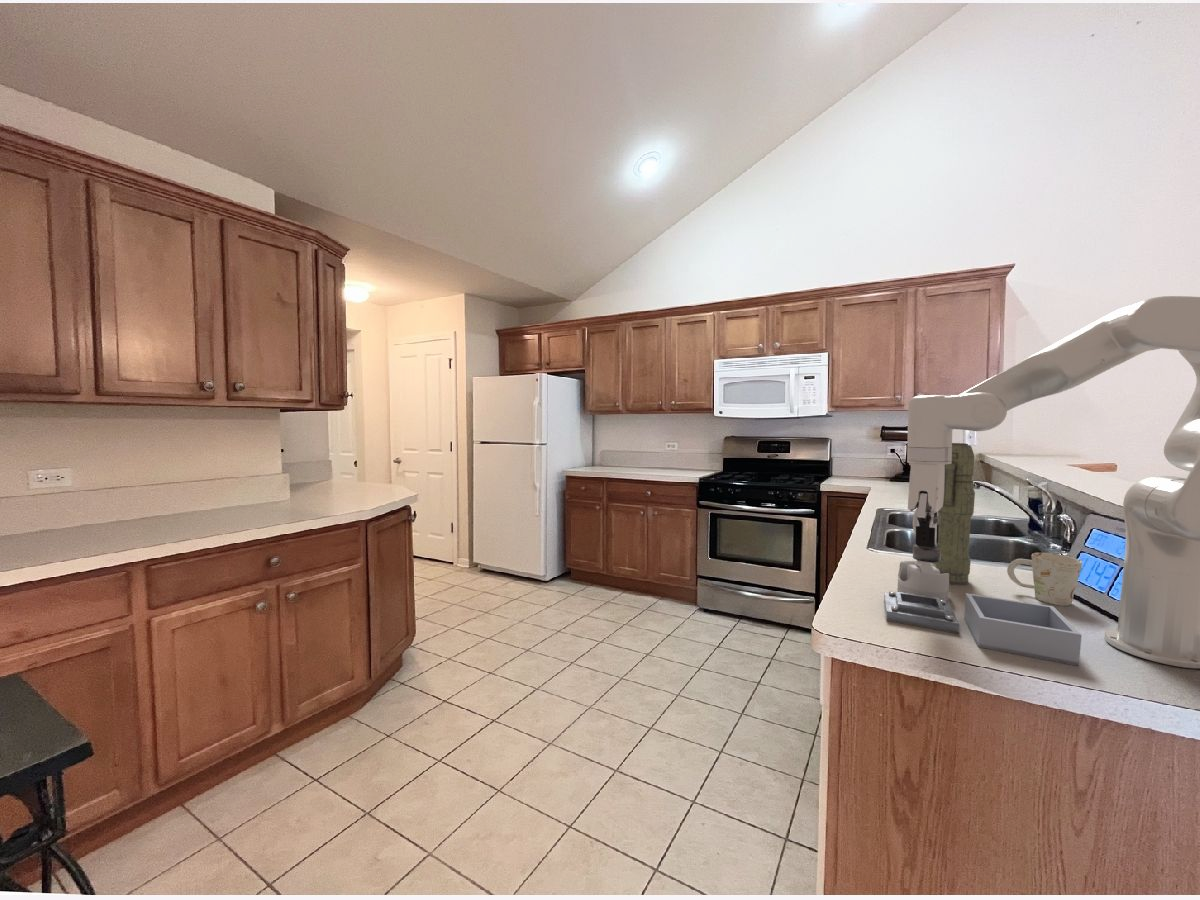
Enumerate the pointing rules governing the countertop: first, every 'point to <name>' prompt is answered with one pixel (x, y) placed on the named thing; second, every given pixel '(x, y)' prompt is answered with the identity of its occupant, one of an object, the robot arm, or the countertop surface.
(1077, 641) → the bin
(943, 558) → the green moai statue
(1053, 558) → the mug
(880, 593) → the countertop surface
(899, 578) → the engine component
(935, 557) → the dark topped cylinder
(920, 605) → the mount plate
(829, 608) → the countertop surface
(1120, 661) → the countertop surface
